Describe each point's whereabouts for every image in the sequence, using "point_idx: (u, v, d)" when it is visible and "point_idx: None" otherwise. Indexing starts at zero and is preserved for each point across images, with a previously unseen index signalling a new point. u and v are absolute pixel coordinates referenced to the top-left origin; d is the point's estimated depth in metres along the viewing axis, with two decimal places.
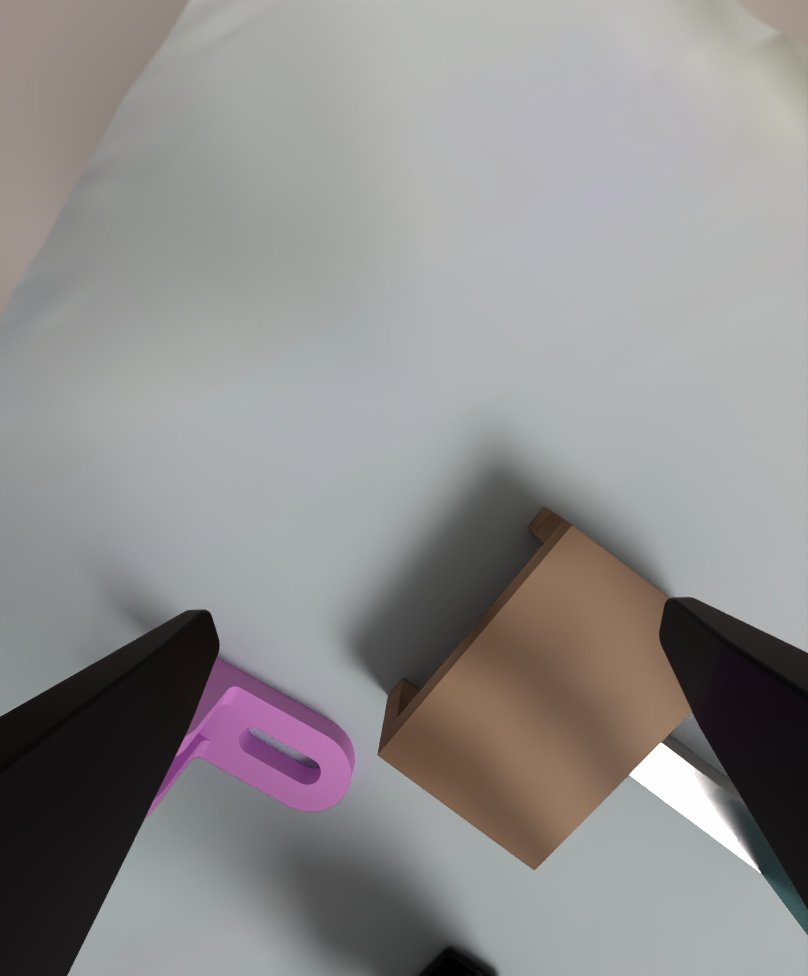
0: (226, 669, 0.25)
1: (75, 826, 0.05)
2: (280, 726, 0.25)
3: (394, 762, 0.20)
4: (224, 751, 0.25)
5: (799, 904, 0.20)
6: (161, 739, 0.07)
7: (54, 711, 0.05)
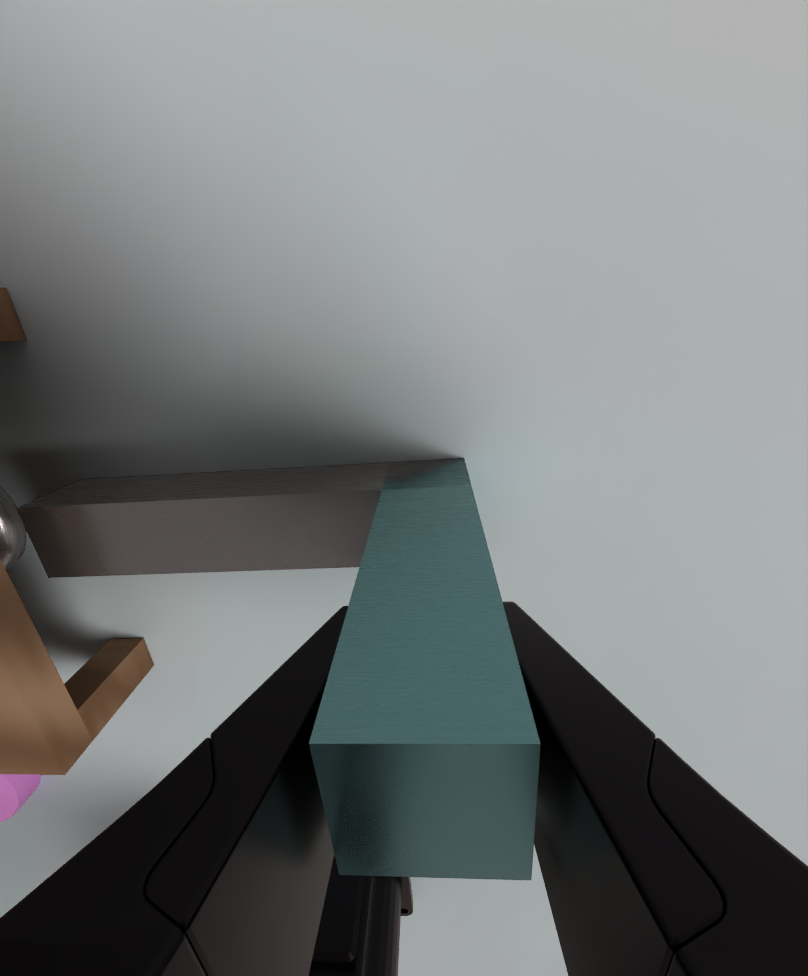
0: None
1: (311, 831, 0.05)
2: None
3: None
4: None
5: None
6: None
7: (286, 710, 0.05)
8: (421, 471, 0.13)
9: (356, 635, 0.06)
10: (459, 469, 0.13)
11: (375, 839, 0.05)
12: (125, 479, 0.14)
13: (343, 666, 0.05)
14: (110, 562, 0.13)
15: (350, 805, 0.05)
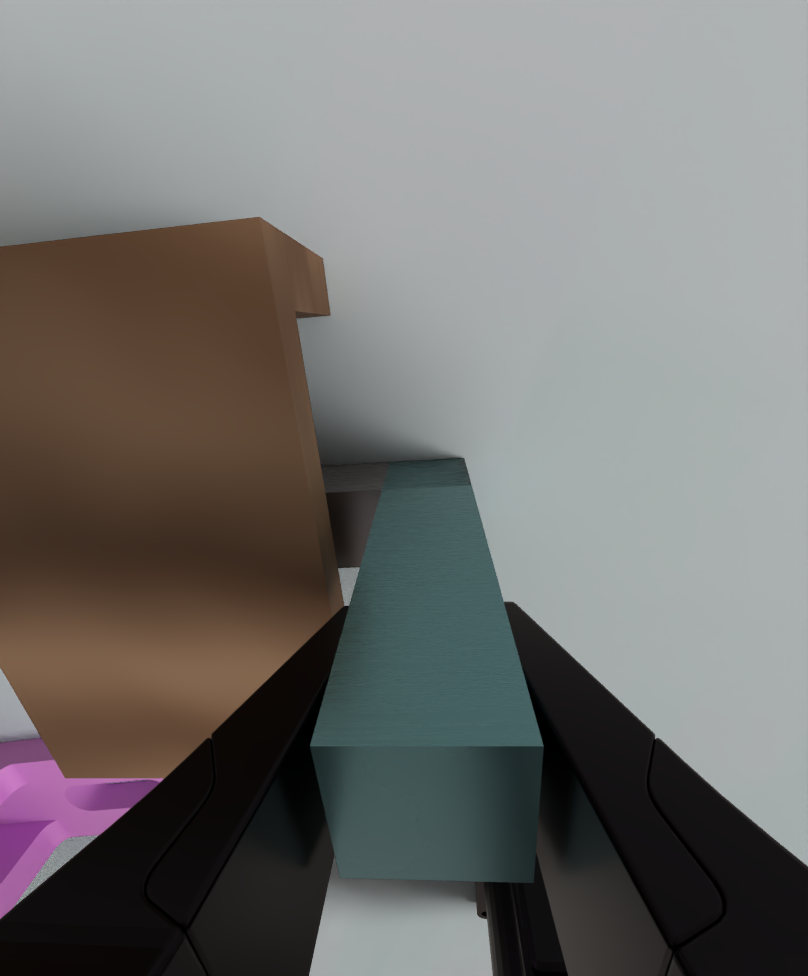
0: (3, 750, 0.20)
1: (311, 831, 0.05)
2: None
3: (87, 773, 0.13)
4: (77, 820, 0.20)
5: None
6: None
7: (286, 710, 0.05)
8: (421, 471, 0.13)
9: (357, 636, 0.06)
10: (459, 469, 0.12)
11: (376, 842, 0.05)
12: None
13: (344, 668, 0.05)
14: None
15: (351, 808, 0.05)
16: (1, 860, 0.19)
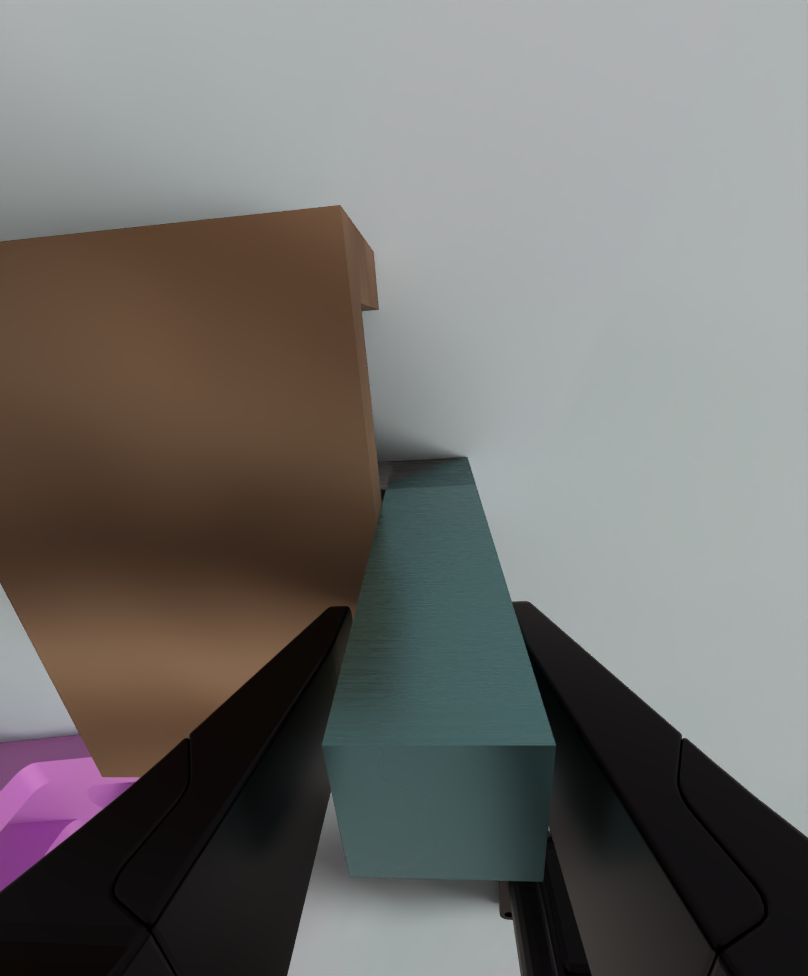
0: (25, 749, 0.20)
1: (290, 831, 0.05)
2: None
3: (125, 772, 0.13)
4: None
5: None
6: None
7: (265, 710, 0.05)
8: (425, 470, 0.13)
9: (365, 636, 0.06)
10: (462, 468, 0.12)
11: (386, 841, 0.05)
12: None
13: (353, 667, 0.05)
14: None
15: (362, 807, 0.05)
16: (23, 859, 0.19)
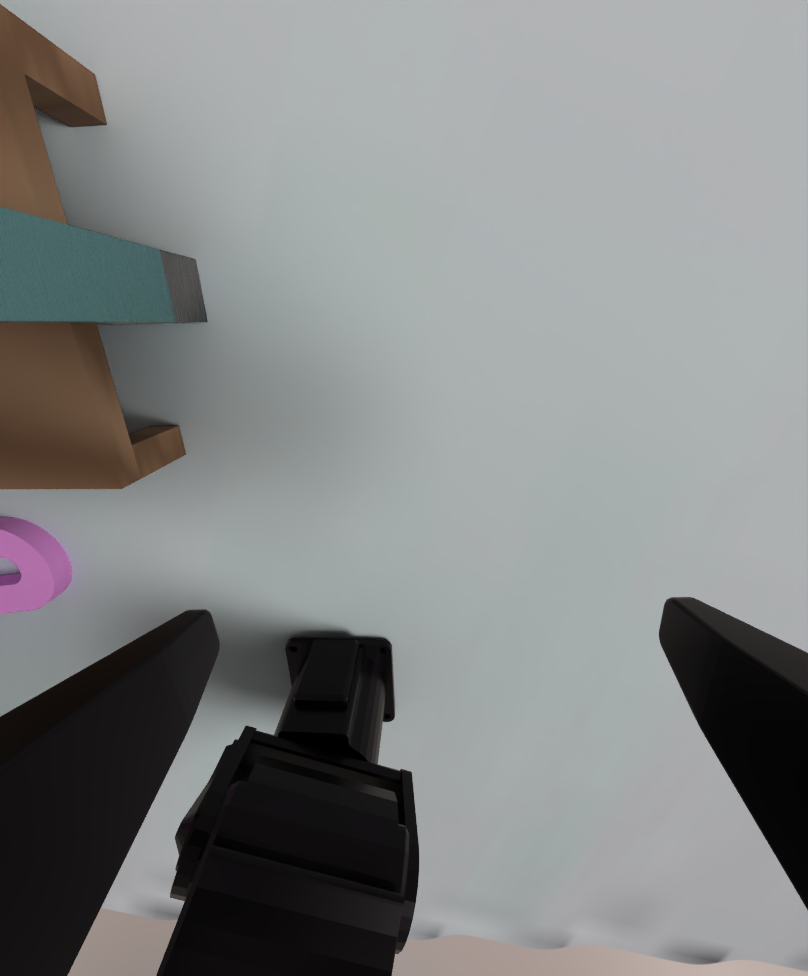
0: None
1: (75, 826, 0.05)
2: None
3: None
4: None
5: None
6: (161, 739, 0.07)
7: (54, 711, 0.05)
8: None
9: None
10: (175, 255, 0.16)
11: None
12: None
13: None
14: None
15: None
16: None
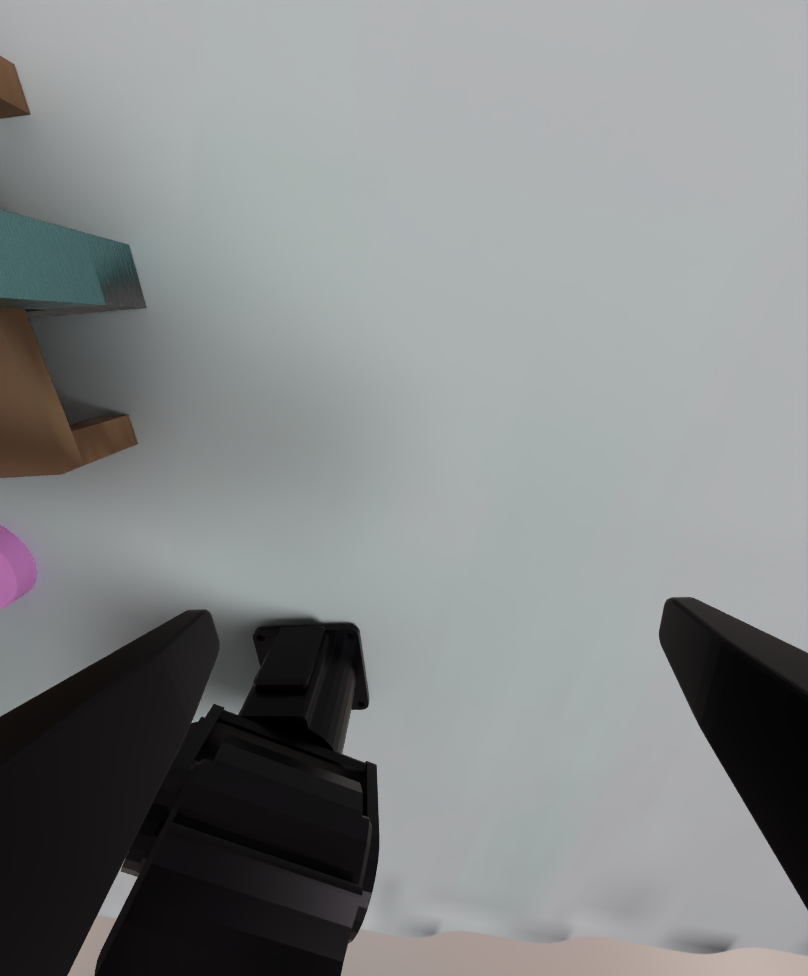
0: None
1: (75, 826, 0.05)
2: None
3: None
4: None
5: None
6: (161, 739, 0.07)
7: (54, 711, 0.05)
8: None
9: None
10: (104, 240, 0.17)
11: None
12: None
13: None
14: None
15: None
16: None
